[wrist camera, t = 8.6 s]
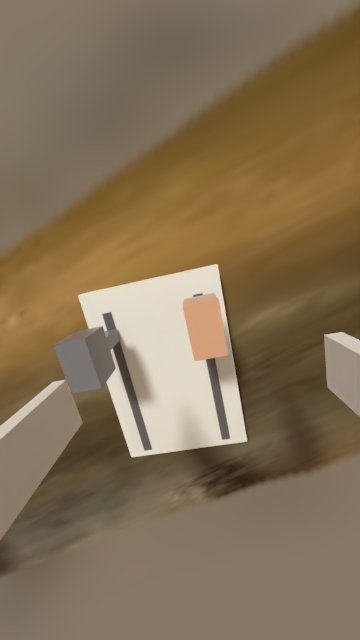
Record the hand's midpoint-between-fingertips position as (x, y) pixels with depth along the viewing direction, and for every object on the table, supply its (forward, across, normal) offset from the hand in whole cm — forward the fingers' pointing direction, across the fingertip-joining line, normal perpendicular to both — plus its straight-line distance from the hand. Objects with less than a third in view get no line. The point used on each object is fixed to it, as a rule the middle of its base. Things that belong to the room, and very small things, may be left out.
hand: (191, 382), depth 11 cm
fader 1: (+16, -11, -1) cm, 20 cm away
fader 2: (+17, +1, 0) cm, 17 cm away
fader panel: (+20, -5, -8) cm, 22 cm away
